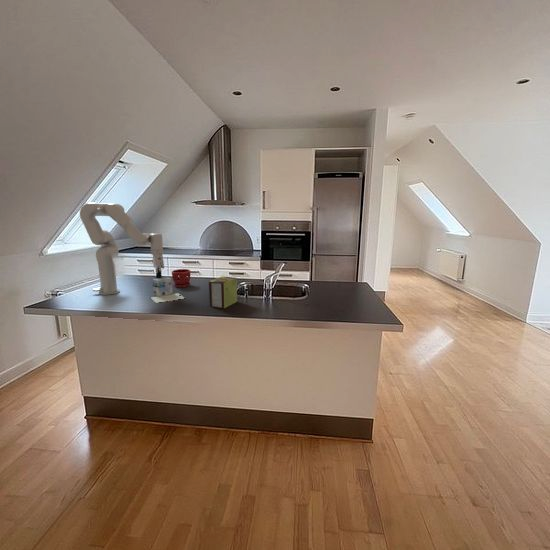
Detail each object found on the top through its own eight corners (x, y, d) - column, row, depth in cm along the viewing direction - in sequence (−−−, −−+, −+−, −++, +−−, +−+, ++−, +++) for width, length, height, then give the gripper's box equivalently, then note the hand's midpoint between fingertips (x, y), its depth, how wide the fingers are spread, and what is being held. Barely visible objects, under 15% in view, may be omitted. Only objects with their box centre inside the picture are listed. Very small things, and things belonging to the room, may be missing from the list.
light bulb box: (158, 296, 190) (157, 280, 188) (153, 295, 194) (151, 279, 192) (173, 293, 198) (172, 277, 197) (167, 292, 202) (166, 277, 201)
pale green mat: (155, 303, 178) (155, 302, 177) (150, 297, 189) (150, 297, 189) (185, 298, 188) (185, 298, 188) (178, 293, 199) (178, 293, 199)
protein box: (237, 301, 184) (237, 277, 181) (224, 308, 170) (223, 282, 167) (223, 299, 188) (222, 275, 184) (209, 306, 174) (208, 281, 170)
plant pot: (176, 283, 227) (175, 268, 224) (193, 284, 226) (192, 269, 224) (169, 288, 214) (168, 272, 211) (187, 288, 213) (186, 272, 211)
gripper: (166, 252, 194) (167, 279, 197) (159, 250, 205) (161, 275, 209) (154, 253, 189) (156, 281, 193) (148, 251, 201) (150, 277, 205)
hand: (159, 278), depth 201 cm, fingers closed
